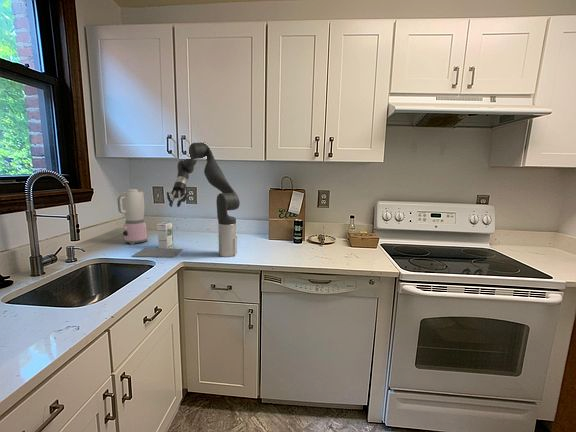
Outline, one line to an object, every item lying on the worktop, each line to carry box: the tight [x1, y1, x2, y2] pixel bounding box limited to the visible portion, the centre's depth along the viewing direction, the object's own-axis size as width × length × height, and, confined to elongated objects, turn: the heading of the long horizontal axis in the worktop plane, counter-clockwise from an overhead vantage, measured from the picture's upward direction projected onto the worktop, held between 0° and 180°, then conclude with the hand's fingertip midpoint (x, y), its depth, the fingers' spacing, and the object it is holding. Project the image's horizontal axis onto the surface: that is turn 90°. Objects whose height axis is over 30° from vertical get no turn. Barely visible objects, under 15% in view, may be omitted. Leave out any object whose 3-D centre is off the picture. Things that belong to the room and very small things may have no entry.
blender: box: [117, 188, 148, 246], centre depth 171 cm, size 16×12×32 cm
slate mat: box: [131, 247, 183, 259], centre depth 154 cm, size 21×14×1 cm, turn 91°
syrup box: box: [156, 221, 174, 249], centre depth 163 cm, size 6×6×14 cm
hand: (174, 206), depth 176 cm, fingers open, 3 cm apart
